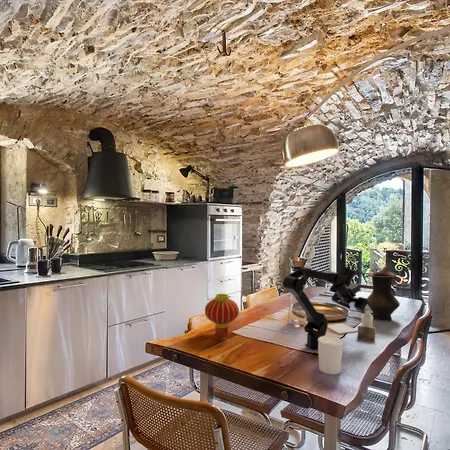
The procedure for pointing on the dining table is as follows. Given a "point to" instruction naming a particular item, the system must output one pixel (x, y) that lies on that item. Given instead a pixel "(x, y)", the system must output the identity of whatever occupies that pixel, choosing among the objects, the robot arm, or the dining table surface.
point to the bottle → (367, 318)
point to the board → (341, 328)
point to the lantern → (221, 312)
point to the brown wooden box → (366, 333)
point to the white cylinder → (330, 354)
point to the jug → (382, 295)
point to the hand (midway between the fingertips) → (356, 310)
